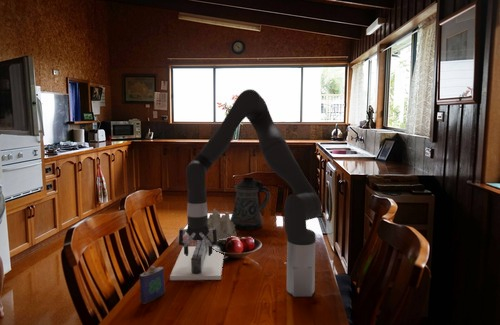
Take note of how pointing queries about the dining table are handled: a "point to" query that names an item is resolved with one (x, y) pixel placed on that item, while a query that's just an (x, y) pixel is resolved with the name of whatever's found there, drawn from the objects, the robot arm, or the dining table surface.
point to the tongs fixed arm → (199, 259)
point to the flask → (152, 284)
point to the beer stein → (249, 204)
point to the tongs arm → (197, 248)
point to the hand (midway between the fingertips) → (198, 255)
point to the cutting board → (209, 269)
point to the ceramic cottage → (221, 225)
